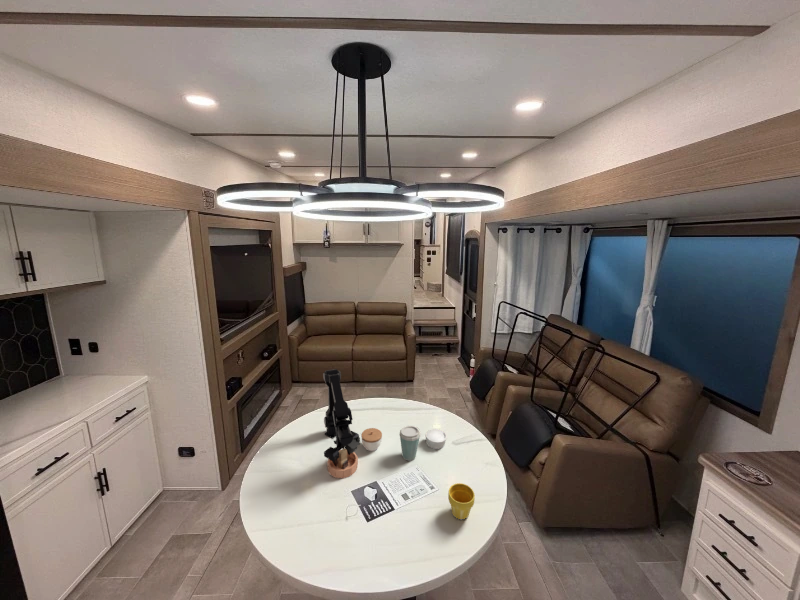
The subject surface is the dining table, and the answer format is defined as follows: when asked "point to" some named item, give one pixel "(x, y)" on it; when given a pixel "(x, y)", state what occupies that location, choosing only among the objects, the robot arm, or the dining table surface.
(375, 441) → the lidded jar
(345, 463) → the clip
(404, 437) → the disposable coffee cup
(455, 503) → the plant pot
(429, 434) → the ramekin
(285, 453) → the dining table surface
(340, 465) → the wooden plank piece
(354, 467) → the faceted terracotta bowl
